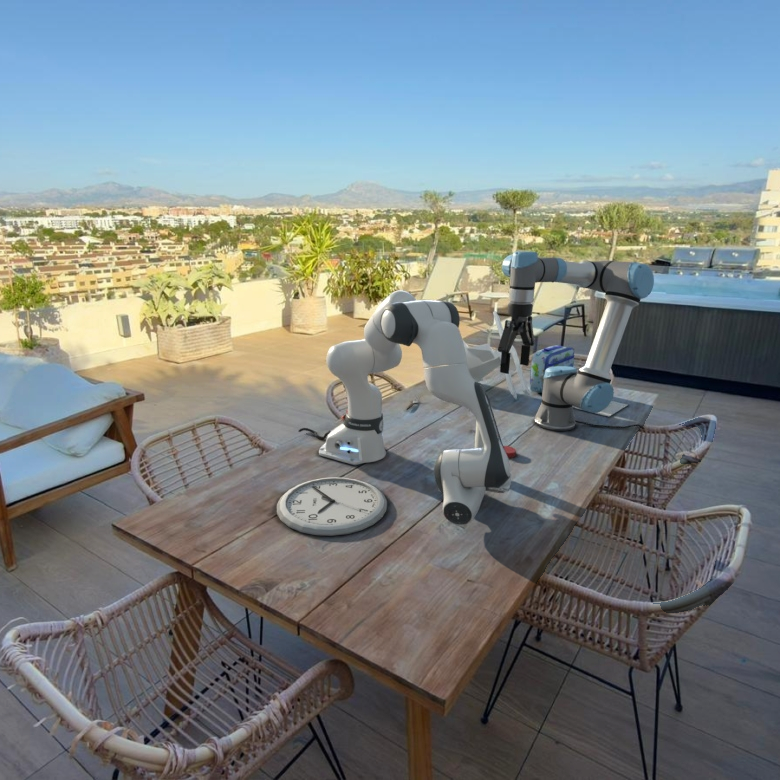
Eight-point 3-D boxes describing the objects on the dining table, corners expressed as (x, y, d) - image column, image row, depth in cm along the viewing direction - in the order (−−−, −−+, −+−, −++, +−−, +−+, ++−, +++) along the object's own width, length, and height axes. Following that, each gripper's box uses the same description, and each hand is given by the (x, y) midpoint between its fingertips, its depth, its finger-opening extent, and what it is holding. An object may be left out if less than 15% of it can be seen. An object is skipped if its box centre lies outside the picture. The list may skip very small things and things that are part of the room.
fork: (403, 410, 217) (403, 406, 216) (415, 399, 231) (415, 395, 231) (409, 411, 216) (409, 406, 215) (420, 400, 230) (420, 395, 230)
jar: (488, 478, 160) (493, 420, 154) (471, 475, 161) (475, 418, 156) (490, 470, 165) (495, 414, 159) (474, 468, 166) (478, 412, 161)
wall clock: (392, 527, 129) (268, 531, 127) (391, 533, 130) (269, 537, 127) (383, 473, 158) (282, 475, 155) (383, 478, 158) (282, 480, 156)
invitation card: (608, 416, 214) (573, 407, 224) (608, 416, 214) (573, 408, 224) (628, 404, 229) (594, 396, 238) (628, 405, 229) (594, 397, 238)
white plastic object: (461, 429, 252) (437, 405, 227) (444, 352, 274) (420, 323, 250) (535, 404, 240) (518, 377, 215) (510, 326, 262) (492, 293, 237)
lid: (503, 448, 181) (503, 444, 181) (519, 454, 177) (519, 449, 177) (493, 453, 177) (493, 449, 177) (508, 459, 173) (509, 454, 172)
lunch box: (546, 398, 236) (551, 353, 229) (525, 393, 243) (529, 349, 237) (573, 387, 253) (579, 344, 247) (553, 382, 260) (558, 341, 254)
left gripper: (509, 481, 137) (515, 460, 149) (433, 469, 143) (445, 450, 156) (507, 503, 139) (513, 480, 151) (433, 490, 145) (444, 469, 158)
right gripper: (527, 297, 173) (521, 360, 180) (489, 305, 155) (484, 374, 162) (549, 300, 169) (542, 363, 175) (512, 308, 151) (506, 378, 157)
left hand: (478, 465), depth 153 cm, fingers open, 8 cm apart
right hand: (514, 368), depth 168 cm, fingers open, 13 cm apart
